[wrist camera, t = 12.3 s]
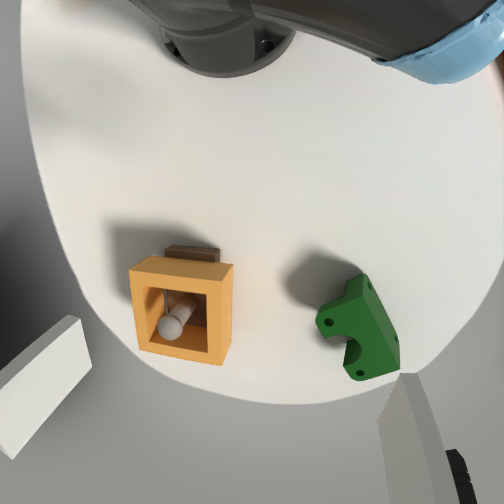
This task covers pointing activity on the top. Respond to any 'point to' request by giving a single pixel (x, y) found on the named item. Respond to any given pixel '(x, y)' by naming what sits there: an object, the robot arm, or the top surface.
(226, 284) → the orange hollow square frame
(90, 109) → the top surface
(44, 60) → the top surface
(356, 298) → the clamp
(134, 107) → the top surface
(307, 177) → the top surface
